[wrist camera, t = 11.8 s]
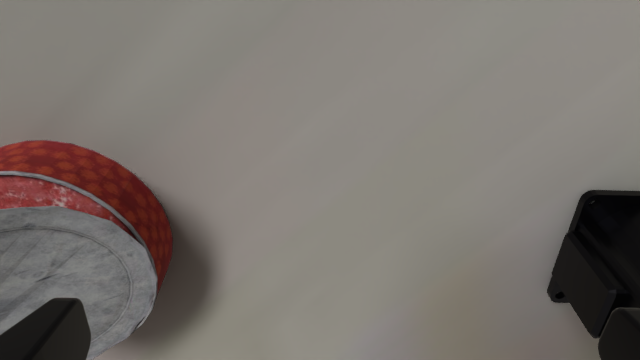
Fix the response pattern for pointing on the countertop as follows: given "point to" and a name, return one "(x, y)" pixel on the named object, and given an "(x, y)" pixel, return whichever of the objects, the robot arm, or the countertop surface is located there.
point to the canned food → (79, 238)
